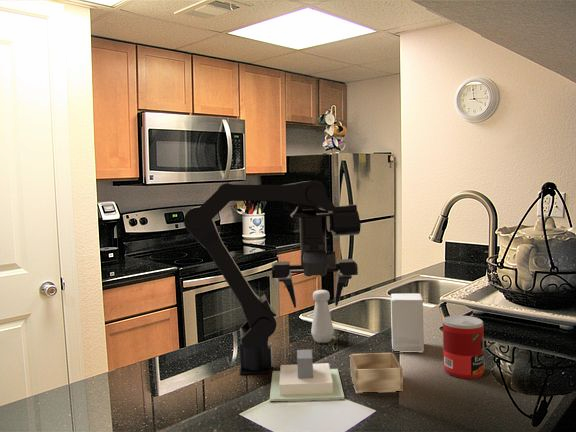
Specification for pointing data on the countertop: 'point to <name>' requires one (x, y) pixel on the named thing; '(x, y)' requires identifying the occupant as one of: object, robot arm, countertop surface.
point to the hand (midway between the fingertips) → (315, 306)
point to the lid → (305, 376)
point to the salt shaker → (322, 318)
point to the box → (376, 372)
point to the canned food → (463, 346)
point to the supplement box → (407, 322)
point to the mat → (335, 395)
